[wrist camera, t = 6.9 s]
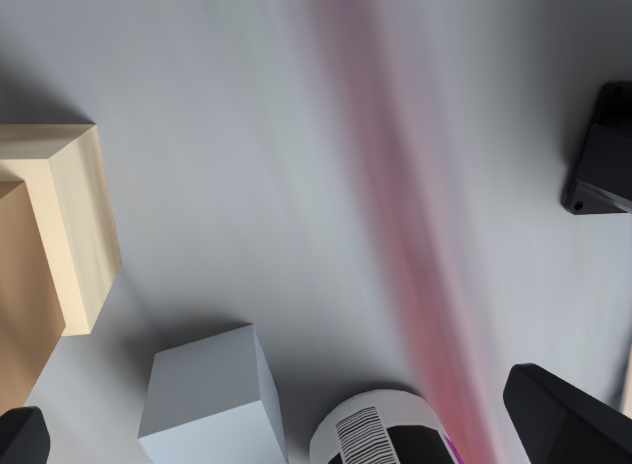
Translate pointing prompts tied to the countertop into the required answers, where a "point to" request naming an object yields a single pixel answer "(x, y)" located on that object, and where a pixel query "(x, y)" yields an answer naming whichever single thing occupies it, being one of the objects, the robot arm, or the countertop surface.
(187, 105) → the countertop surface
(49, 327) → the walnut cube
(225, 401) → the slate cube
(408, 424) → the supplement can
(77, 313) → the maple block
